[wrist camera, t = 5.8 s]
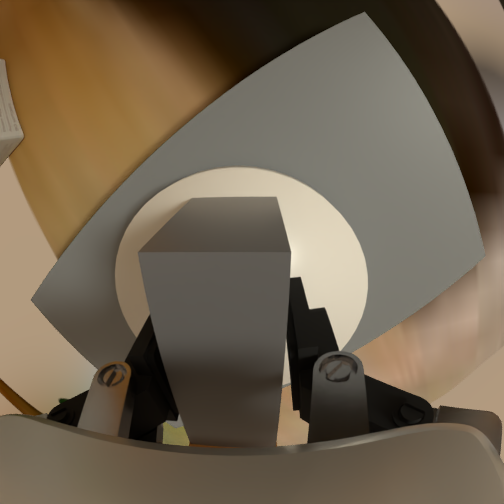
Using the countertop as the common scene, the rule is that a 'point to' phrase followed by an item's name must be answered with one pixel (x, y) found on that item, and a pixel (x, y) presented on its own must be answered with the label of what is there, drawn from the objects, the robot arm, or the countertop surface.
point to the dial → (235, 291)
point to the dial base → (307, 171)
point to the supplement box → (7, 118)
